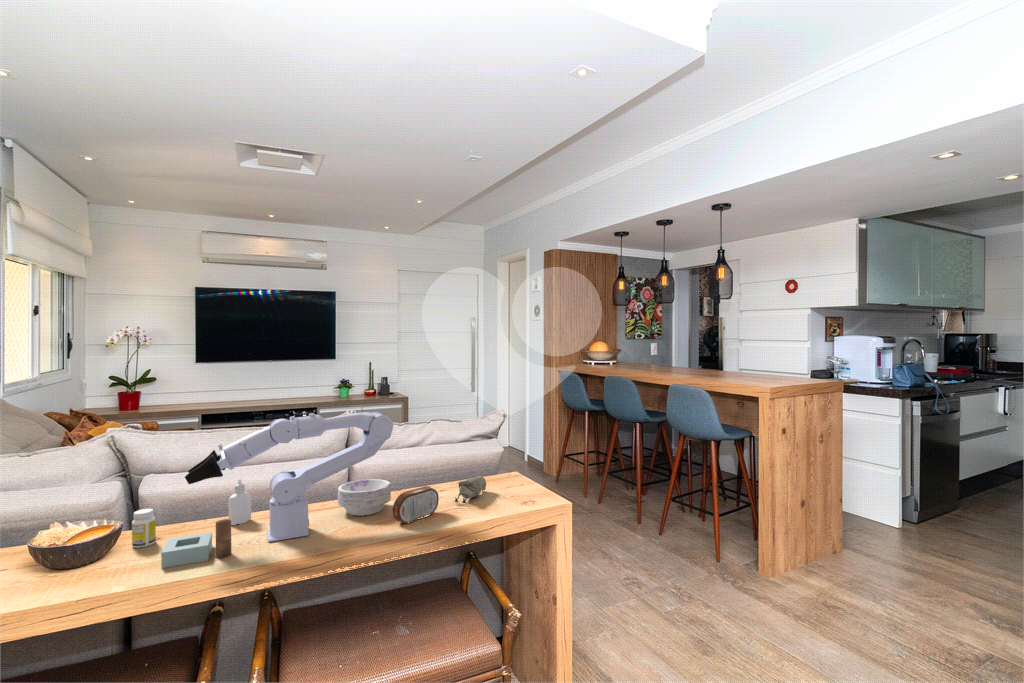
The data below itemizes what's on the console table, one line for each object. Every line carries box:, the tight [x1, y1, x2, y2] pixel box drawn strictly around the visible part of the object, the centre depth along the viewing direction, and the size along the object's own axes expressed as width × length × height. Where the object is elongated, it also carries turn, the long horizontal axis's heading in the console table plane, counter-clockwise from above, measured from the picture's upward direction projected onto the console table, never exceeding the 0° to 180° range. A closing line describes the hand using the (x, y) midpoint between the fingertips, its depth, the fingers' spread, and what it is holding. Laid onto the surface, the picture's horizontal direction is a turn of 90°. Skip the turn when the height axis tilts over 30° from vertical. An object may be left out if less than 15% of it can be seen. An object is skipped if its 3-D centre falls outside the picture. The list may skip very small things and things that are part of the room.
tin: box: [392, 485, 440, 524], centre depth 141 cm, size 15×3×8 cm, turn 140°
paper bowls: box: [337, 478, 392, 517], centre depth 148 cm, size 15×15×8 cm
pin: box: [215, 518, 232, 559], centre depth 118 cm, size 3×3×8 cm
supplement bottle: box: [131, 508, 157, 549], centre depth 125 cm, size 5×5×8 cm
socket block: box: [160, 531, 213, 569], centre depth 117 cm, size 9×9×4 cm
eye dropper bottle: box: [228, 479, 252, 526], centre depth 140 cm, size 4×6×12 cm
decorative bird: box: [454, 475, 487, 505], centre depth 159 cm, size 5×16×8 cm, turn 155°
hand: (188, 477), depth 120 cm, fingers open, 7 cm apart
